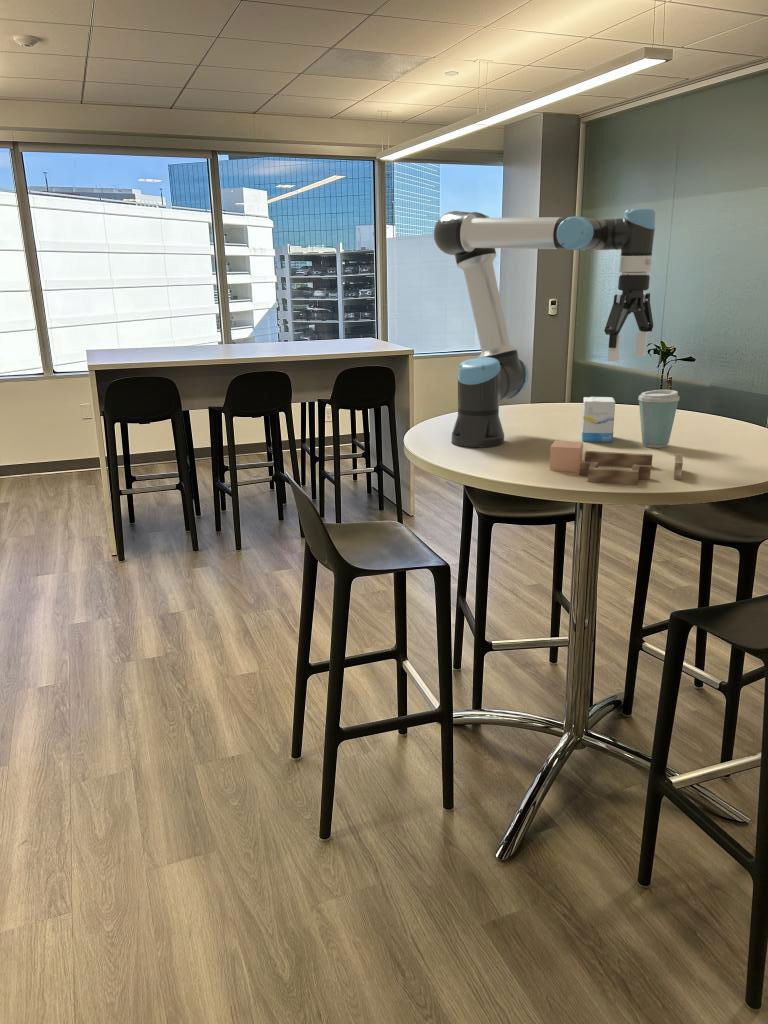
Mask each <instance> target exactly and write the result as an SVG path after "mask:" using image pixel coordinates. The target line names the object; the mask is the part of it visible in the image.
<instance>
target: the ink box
mask: <svg viewBox="0 0 768 1024" xmlns="http://www.w3.org/2000/svg"><path fill="white" fill-rule="evenodd" d="M615 411H616V401H615V399H614V397H611V396H610V397H609V396H584V397H583V401H582V415H581V430H580V431H581V432H580V436H581V440H582V441H581V442H593V443H595V442H600V443H601V442H602V443H613V439H614V425H615V413H616V412H615Z"/></svg>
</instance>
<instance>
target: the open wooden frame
mask: <svg viewBox="0 0 768 1024" xmlns="http://www.w3.org/2000/svg"><path fill="white" fill-rule="evenodd" d="M683 456H684V455H683V453H681V452H680V453H679V452H678V453H677V452H676V453H675V458H674V469H673V471H674V472H673V473H674V474H673V480H675V481H681V480H682V475H683V463H684V462H683V461H684V460H683V459H684V458H683ZM598 465H601V466H614V467H631V469H621V468H620V469H618V468H605V467H598ZM652 467H653V454H650V453H649V454H646V453H632V452H630V453H629V452H628V453H627V452H614V451H613V452H612V451H598V450H597V451H596V450H585V453H584V461H583V460H582V461H581V462H580V470H579V472H578V475H580V476H587V482H590V483H591V482H592V483H606V484H618V485H634V486H635V485H636V486H638V485H639V480H648V481H649V480H650V481H651V473H652Z"/></svg>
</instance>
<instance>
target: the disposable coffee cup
mask: <svg viewBox="0 0 768 1024" xmlns="http://www.w3.org/2000/svg"><path fill="white" fill-rule="evenodd" d="M680 399H681V398H680V395H679V391H677V390H672V389H654V390H653V389H652V390H648V391H643V392H642V393H640V395H638V399H637V400H638V405H639V415H640V416H639V418H640V419H639V420H640V428H641V441H642V444H643V447H648V448H658V449H660V448H667V447H668V444H669V443H670V439H671V435H672V430H673V425H674V421H675V417H676V413H677V409H678V404H679V401H680Z"/></svg>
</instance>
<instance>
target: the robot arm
mask: <svg viewBox="0 0 768 1024" xmlns="http://www.w3.org/2000/svg"><path fill="white" fill-rule="evenodd" d="M434 225H435V226H434V229H433V238H434V243H435V244H436V246H437V248H438V249H439V250H440V251H442V252H443V253H445V254H446V255H450V256H451V255H452V256H454V257H455V263H456V266H457V267H458V268H459V269H461V270H462V271H463V273H464V278H465V283H466V287H467V291H468V296H469V301H470V305H471V306H470V307H471V309H472V313H473V314H472V315H473V319H474V323H475V328H476V333H477V336H478V340H479V346H480V350H481V352H480V354H479V356H478V357H476V358H468V359H466V360H463V361H462V362H460V364H459V366H458V372H457V417H456V420H455V423H454V426H453V430H452V432H451V443H452V444H453V445H456V446H461V447H466V448H467V447H468V448H490V447H496V446H500V445H501V446H502V444H504V443H505V432H504V428H503V425H502V422H501V419H500V415H499V414H500V401H503V400H508V399H512V398H514V397H516V396H517V395H520V394H521V393H522V392H523V391H524V390H525V388H526V386H527V384H528V382H529V375H530V374H529V368H528V366H527V365H526V363H525V362H524V361H523V360H522V359H521V358H520V357H519V354H518V350H517V347H515V346H513V345H512V344H511V342H510V336H509V332H508V329H507V328H508V327H507V324H506V319H505V315H504V314H505V313H504V309H503V306H502V300H501V296H500V291H499V286H498V281H497V277H496V273H495V269H494V264H493V263H494V261H495V258H496V257H497V252H496V249H518V250H519V249H520V250H521V249H526V250H527V249H528V250H529V249H530V250H534V249H535V250H570V251H590V252H593V251H611V250H616V251H617V250H619V251H620V261H619V269H618V270H619V271H618V273H620V274H621V275H619V276H618V284H617V285H618V286H617V289H618V290H619V291H622V292H621V294H619V293H618V294H617V293H615V294H614V296H613V303H612V306H611V309H610V312H609V315H608V318H607V322H606V325H605V326H604V334H605V335H606V336H607V335H609V338H608V352H607V361H608V362H609V361H611V362H619V358H620V350H621V338H622V337H621V336H622V335H621V334H620V332H621V330H622V328H623V326H624V325H625V322H626V320H627V318H628V316H629V315H630V314H633V316H634V319H635V321H636V325H637V327H638V330H637V332H636V341H635V349H634V357H640V358H641V357H643V358H645V357H646V355H647V353H646V352H647V344H648V335H649V332H652V331H653V329H654V319H653V313H652V306H651V293H650V292H644V291H648V290H649V288H650V281H651V279H650V278H651V276H650V275H649V274H648V273H650V272H651V266H652V263H653V260H652V256H653V246H654V237H655V230H656V212H655V210H654V209H653V208H632V209H631V208H629V209H626V210H625V211H624V215H623V216H622V217H620V218H594V217H584V216H580V215H579V216H578V215H573V216H572V215H571V216H567V217H566V216H565V217H564V216H563V217H561V216H558V217H557V216H556V217H555V216H553V217H552V216H550V217H549V216H548V217H546V216H545V217H543V216H542V217H539V216H537V217H532V216H531V217H490V216H488V215H486V214H484V213H482V212H477V211H472V212H470V211H460V210H459V211H458V210H453V211H452V210H451V211H448V212H445V213H444V214H443V215H441V216H439V219H438V220H437V221H436V223H435V224H434Z"/></svg>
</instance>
